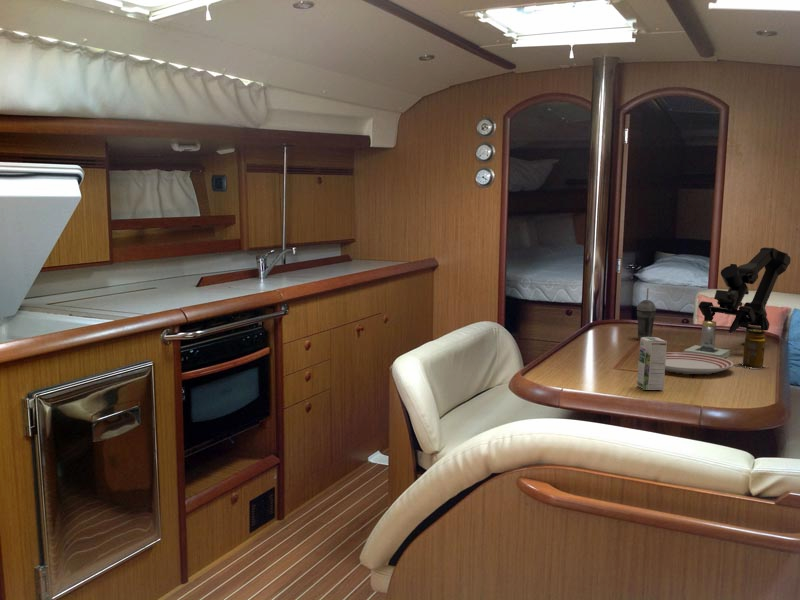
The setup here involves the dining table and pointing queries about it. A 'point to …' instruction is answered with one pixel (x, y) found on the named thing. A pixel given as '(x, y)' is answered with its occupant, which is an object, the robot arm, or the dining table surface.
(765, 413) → the dining table surface
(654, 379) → the syrup box
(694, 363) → the dinner plate
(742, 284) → the robot arm
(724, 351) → the white flat square frame
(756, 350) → the condiment
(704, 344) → the jar with gold lid
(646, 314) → the beverage cup
